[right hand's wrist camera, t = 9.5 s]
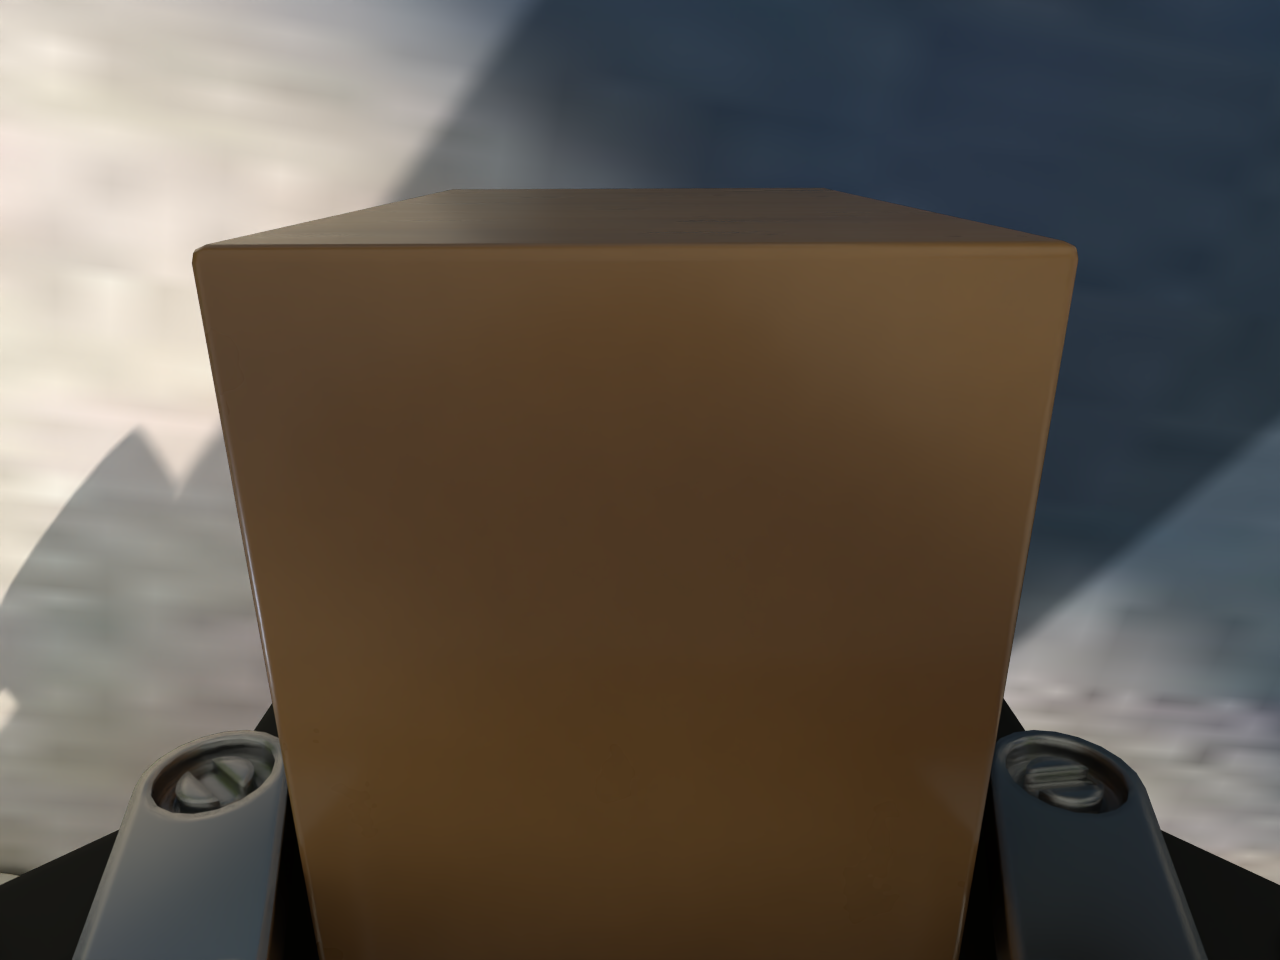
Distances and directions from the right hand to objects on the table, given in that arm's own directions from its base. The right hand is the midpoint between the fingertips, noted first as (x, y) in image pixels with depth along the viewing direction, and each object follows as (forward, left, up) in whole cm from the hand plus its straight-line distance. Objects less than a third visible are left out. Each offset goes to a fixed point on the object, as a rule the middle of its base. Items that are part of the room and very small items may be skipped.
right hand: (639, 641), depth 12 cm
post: (+22, -10, -2) cm, 25 cm away
